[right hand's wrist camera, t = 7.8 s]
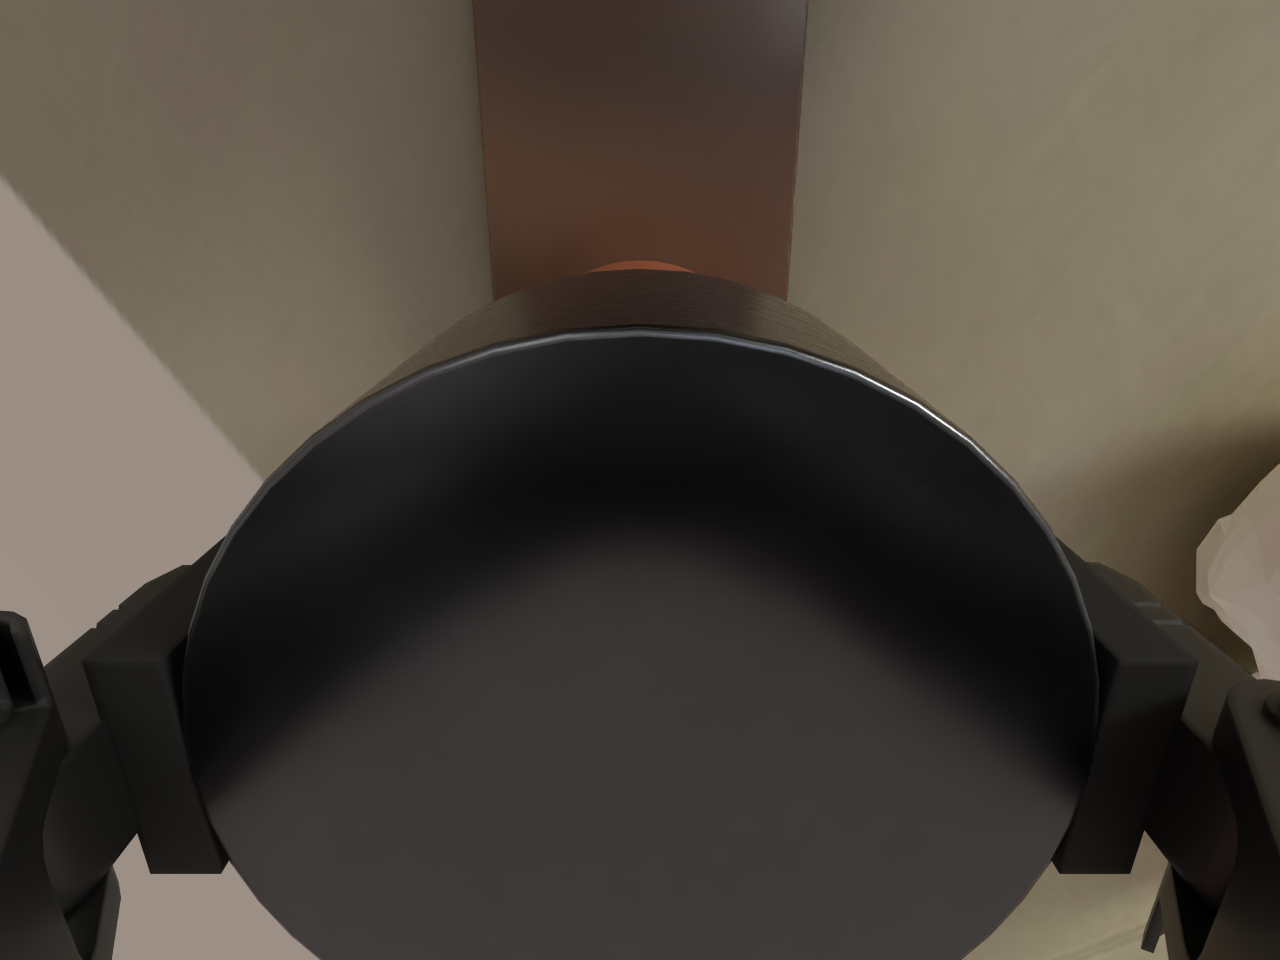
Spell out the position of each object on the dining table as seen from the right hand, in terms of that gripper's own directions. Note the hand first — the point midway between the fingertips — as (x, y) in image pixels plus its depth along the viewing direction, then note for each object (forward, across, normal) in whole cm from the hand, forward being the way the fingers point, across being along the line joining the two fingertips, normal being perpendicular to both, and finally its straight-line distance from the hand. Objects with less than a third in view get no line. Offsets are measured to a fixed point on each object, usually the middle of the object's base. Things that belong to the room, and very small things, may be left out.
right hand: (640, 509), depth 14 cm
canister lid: (-3, 0, 0) cm, 3 cm away
